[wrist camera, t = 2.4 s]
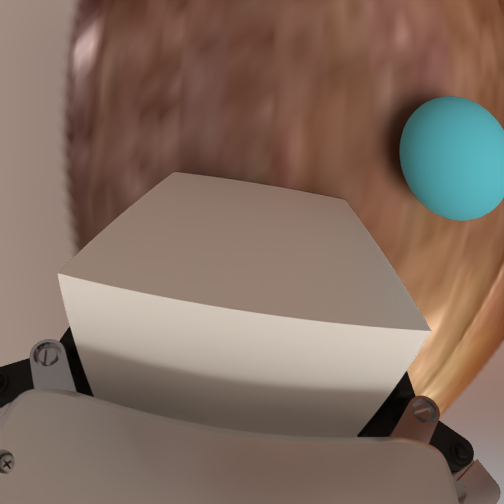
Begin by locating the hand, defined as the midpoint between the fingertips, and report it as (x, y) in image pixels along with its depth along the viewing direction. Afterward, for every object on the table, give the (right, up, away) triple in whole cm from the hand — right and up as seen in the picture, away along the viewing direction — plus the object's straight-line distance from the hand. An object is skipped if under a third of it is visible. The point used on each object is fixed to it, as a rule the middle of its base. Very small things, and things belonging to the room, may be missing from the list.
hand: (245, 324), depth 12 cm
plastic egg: (+8, +6, -2) cm, 11 cm away
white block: (0, +1, +4) cm, 4 cm away
